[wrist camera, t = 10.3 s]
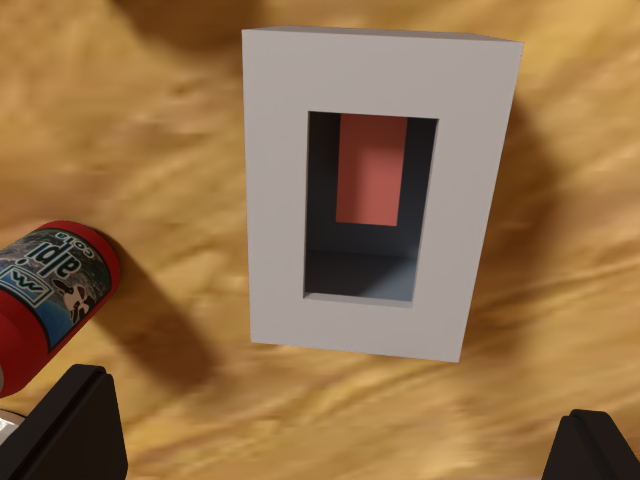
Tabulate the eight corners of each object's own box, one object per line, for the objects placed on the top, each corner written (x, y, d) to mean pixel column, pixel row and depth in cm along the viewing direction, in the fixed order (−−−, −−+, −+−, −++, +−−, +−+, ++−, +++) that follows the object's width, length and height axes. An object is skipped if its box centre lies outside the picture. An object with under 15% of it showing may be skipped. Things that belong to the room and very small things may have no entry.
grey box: (435, 263, 31) (458, 362, 22) (285, 251, 32) (250, 341, 23) (472, 33, 26) (524, 42, 16) (288, 25, 26) (241, 29, 17)
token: (396, 226, 24) (409, 101, 21) (335, 222, 24) (341, 98, 21) (392, 186, 29) (402, 84, 26) (343, 183, 29) (348, 81, 27)
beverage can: (140, 249, 34) (28, 360, 23) (106, 313, 36) (-9, 439, 25) (52, 197, 33) (-109, 286, 22) (24, 267, 35) (-132, 378, 24)
